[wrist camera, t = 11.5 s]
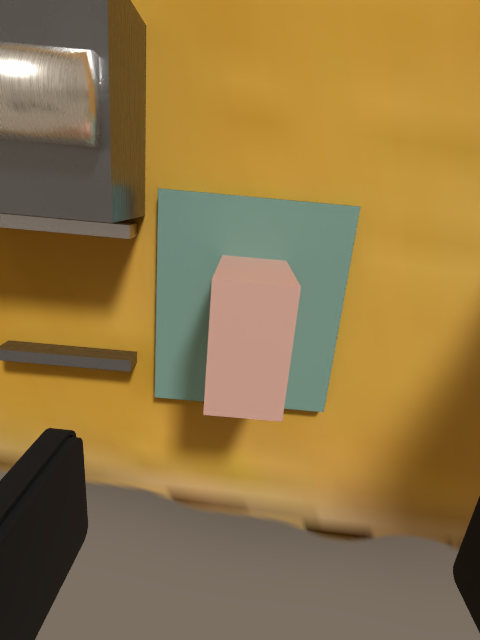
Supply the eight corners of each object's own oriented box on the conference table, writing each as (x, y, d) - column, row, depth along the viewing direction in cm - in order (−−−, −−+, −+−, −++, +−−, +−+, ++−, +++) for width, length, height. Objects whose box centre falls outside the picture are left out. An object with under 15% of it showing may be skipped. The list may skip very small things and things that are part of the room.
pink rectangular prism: (287, 260, 24) (302, 287, 17) (274, 363, 26) (283, 421, 19) (221, 254, 24) (210, 279, 17) (214, 357, 26) (202, 414, 19)
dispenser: (146, 25, 21) (83, -77, 13) (143, 363, 27) (101, 431, 19) (-39, 8, 21) (-214, -104, 13) (2, 350, 27) (-98, 414, 19)
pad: (356, 206, 23) (360, 206, 23) (321, 406, 28) (323, 412, 27) (161, 188, 23) (158, 188, 23) (157, 391, 28) (154, 397, 27)
